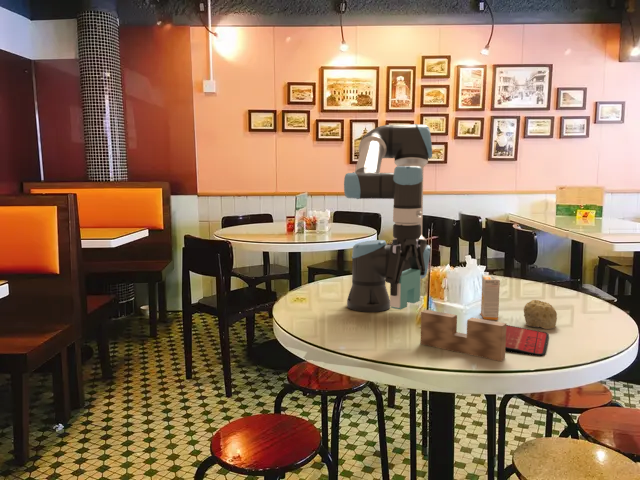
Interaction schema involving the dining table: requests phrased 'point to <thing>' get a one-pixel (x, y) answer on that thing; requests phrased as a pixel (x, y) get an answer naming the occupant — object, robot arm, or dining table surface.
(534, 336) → the binder
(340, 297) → the dining table surface
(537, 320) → the decorative item
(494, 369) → the dining table surface
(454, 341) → the walnut board
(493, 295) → the supplement box
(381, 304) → the robot arm
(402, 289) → the teal plate
